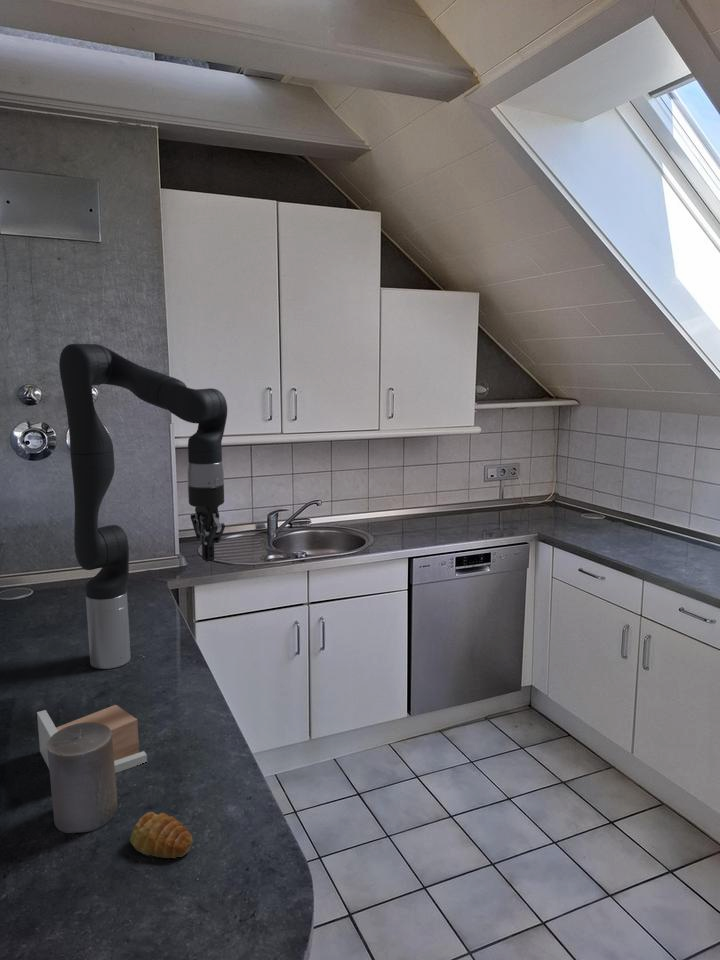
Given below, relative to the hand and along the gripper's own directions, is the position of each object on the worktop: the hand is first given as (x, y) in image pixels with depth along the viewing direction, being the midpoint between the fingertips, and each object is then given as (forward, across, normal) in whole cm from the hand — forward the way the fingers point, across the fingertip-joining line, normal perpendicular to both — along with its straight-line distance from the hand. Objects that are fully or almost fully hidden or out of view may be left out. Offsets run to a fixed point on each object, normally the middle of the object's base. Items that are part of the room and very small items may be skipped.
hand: (208, 560), depth 153 cm
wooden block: (+29, +15, -30) cm, 44 cm away
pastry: (+29, +44, -28) cm, 60 cm away
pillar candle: (+29, +30, -36) cm, 55 cm away
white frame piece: (+29, +14, -30) cm, 44 cm away
